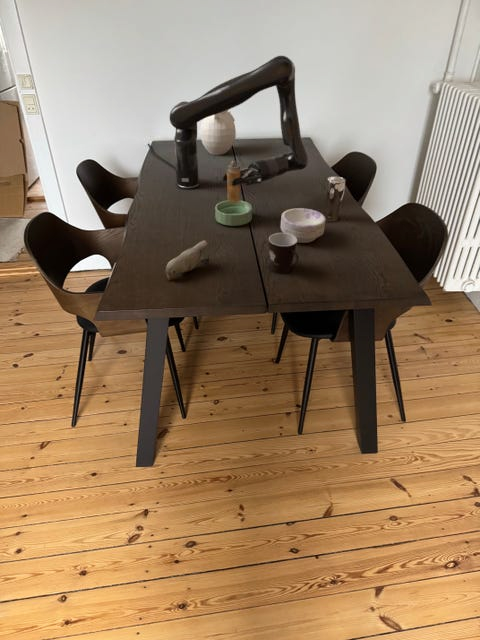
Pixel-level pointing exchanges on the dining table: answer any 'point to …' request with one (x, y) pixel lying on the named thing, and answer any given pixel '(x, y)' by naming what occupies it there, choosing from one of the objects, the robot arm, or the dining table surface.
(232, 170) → the pepper mill
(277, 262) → the coffee mug
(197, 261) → the decorative bird
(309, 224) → the paper bowls
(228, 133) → the pitcher
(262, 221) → the dining table surface
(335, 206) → the beer glass
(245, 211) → the serving bowl
